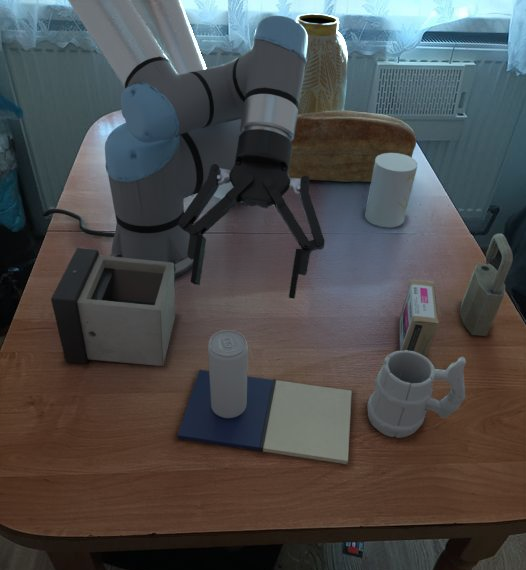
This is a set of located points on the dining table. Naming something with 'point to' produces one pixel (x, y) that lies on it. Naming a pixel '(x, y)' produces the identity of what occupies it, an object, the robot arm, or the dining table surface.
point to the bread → (346, 144)
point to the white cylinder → (390, 189)
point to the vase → (323, 65)
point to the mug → (412, 393)
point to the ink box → (419, 318)
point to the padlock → (486, 289)
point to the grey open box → (115, 309)
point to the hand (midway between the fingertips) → (242, 290)
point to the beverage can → (228, 373)
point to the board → (275, 419)
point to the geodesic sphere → (223, 190)
